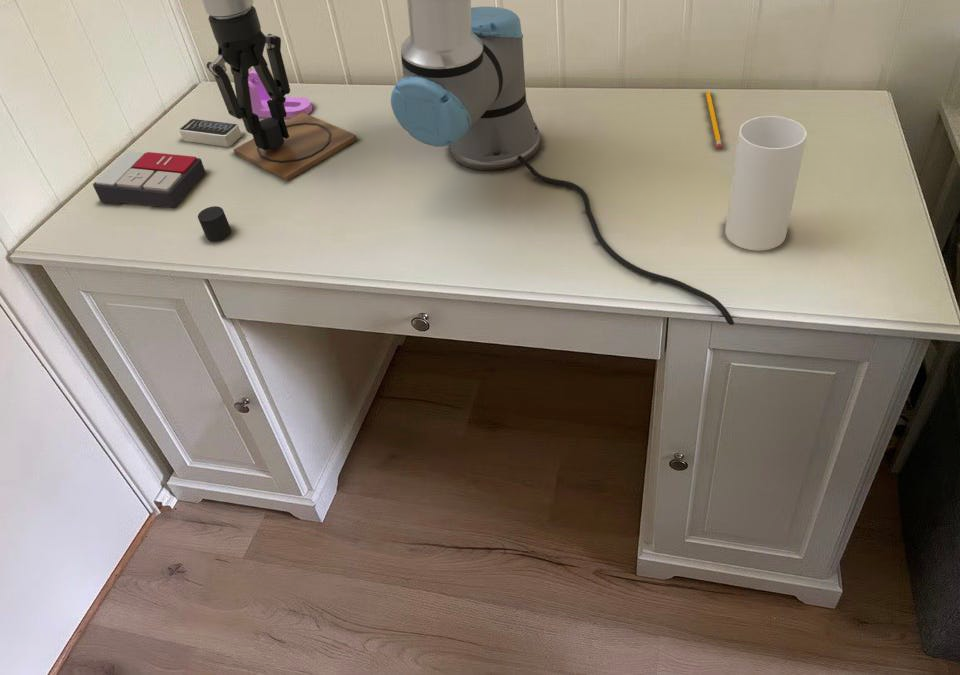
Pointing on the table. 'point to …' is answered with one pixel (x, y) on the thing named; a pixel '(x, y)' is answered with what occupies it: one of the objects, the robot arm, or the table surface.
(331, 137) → the board
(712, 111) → the pencil
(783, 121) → the cup
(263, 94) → the bracket
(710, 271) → the table surface
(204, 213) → the eye puck
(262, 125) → the eye puck
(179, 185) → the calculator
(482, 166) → the robot arm
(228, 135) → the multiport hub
